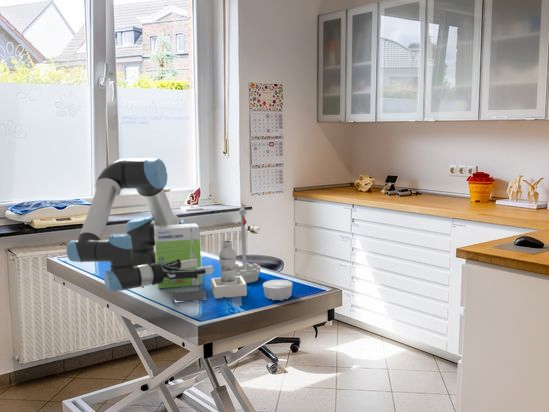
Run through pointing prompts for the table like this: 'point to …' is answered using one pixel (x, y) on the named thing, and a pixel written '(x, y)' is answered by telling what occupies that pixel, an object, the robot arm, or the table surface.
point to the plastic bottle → (227, 264)
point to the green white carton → (178, 250)
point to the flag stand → (245, 271)
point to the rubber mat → (189, 295)
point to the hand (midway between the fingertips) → (204, 265)
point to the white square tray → (229, 288)
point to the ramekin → (278, 289)
